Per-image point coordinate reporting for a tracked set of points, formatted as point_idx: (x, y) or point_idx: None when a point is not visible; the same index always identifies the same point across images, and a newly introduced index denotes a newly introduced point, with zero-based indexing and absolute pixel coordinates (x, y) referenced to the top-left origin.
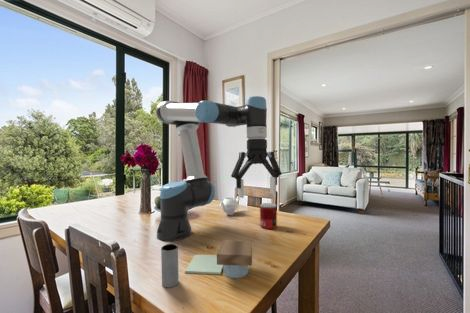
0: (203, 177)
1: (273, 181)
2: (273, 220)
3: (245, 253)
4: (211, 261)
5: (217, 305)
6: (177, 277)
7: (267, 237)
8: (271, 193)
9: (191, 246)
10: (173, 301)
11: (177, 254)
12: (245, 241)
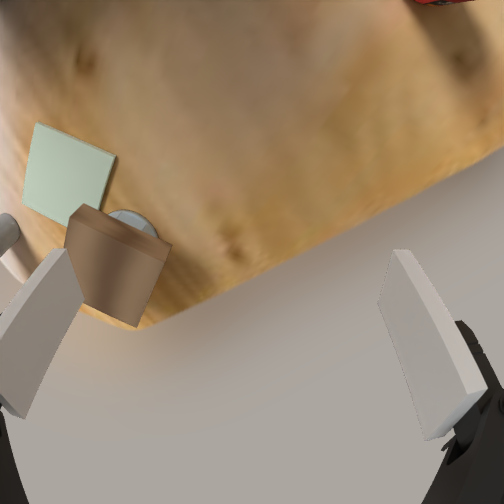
0: None
1: (416, 397)
2: (444, 1)
3: (124, 315)
4: (71, 179)
5: (86, 309)
6: (12, 242)
7: (348, 57)
8: (387, 271)
9: (35, 46)
10: (26, 275)
11: None
12: (141, 254)
